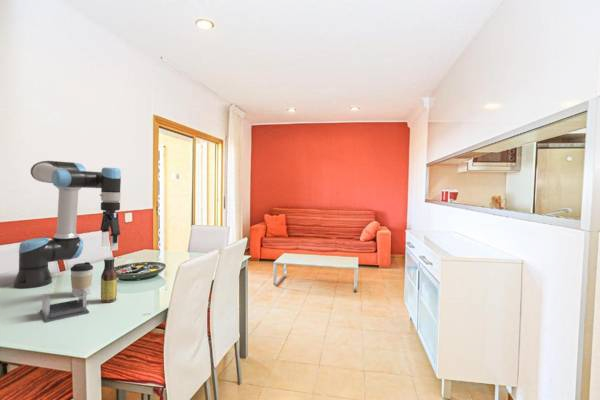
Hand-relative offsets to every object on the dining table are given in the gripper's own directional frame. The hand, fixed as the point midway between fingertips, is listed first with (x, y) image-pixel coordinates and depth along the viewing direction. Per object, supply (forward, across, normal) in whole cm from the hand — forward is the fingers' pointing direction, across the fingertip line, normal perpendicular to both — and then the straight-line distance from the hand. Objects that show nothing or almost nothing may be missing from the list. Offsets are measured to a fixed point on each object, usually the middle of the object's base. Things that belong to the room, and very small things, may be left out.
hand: (109, 248), depth 143 cm
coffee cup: (+25, -17, -7) cm, 31 cm away
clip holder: (+25, +3, -17) cm, 30 cm away
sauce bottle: (+25, 0, 0) cm, 25 cm away
